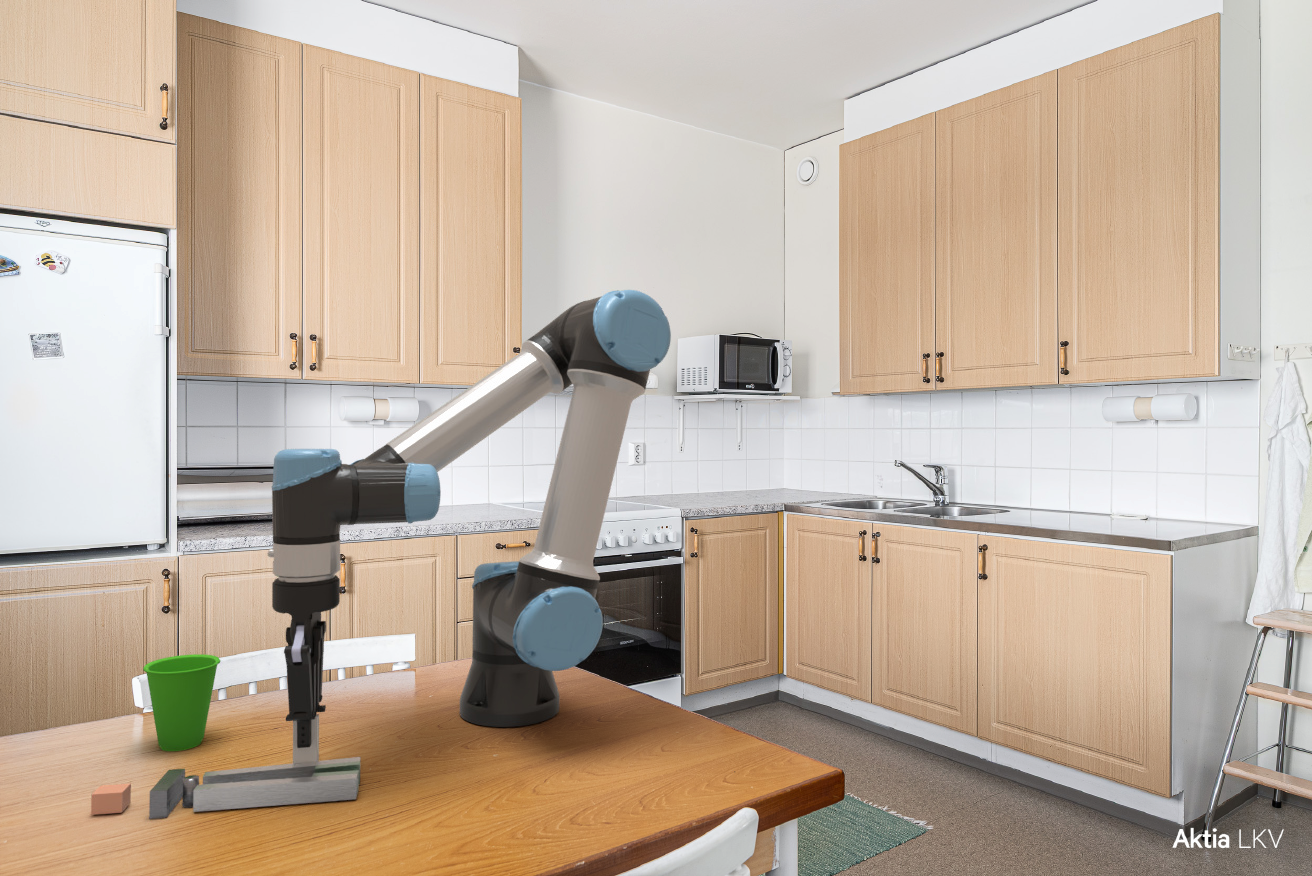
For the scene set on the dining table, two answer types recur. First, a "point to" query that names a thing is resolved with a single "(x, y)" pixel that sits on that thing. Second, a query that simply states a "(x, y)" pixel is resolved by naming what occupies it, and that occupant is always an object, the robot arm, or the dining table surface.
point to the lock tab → (110, 799)
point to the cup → (181, 698)
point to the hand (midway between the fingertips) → (305, 770)
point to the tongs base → (248, 792)
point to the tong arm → (282, 771)
